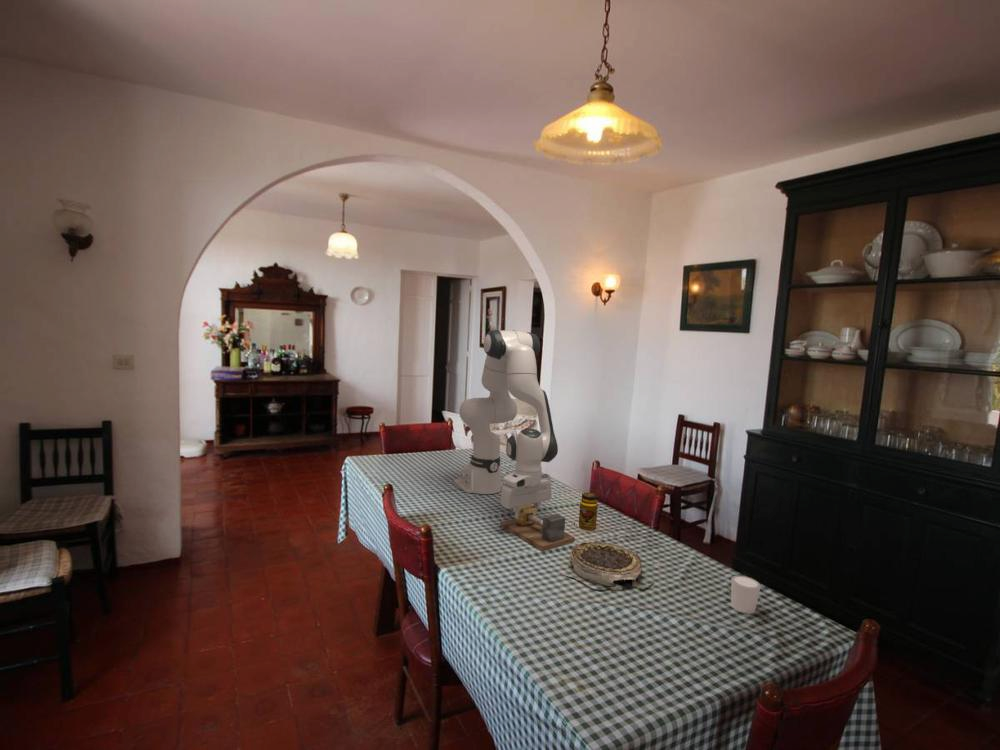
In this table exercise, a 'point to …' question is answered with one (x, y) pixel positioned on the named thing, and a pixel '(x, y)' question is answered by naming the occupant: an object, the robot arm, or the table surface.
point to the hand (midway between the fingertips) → (525, 516)
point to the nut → (524, 511)
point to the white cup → (744, 594)
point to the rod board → (541, 531)
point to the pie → (605, 563)
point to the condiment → (588, 512)
